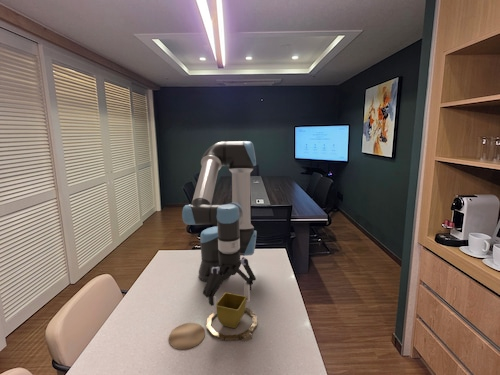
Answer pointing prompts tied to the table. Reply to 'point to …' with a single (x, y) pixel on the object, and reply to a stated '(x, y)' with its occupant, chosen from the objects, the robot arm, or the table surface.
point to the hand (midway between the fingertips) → (231, 305)
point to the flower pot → (230, 309)
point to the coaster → (186, 336)
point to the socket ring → (244, 335)
